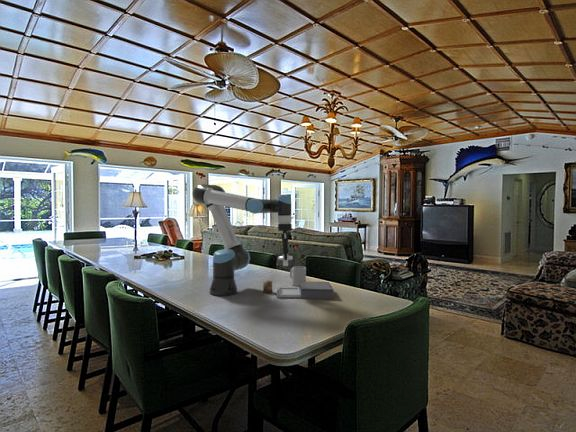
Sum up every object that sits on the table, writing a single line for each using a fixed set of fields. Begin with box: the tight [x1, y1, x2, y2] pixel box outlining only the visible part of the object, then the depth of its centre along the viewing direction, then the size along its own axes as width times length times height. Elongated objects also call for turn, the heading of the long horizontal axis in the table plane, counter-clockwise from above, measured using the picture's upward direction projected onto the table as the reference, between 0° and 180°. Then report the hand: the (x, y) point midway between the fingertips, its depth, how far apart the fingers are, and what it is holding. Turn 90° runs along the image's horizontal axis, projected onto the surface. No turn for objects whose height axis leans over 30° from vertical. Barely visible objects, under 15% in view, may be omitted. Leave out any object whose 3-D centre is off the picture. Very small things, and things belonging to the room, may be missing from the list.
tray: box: [276, 282, 301, 299], centre depth 189 cm, size 17×16×4 cm
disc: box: [277, 255, 294, 261], centre depth 189 cm, size 8×8×2 cm
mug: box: [289, 265, 307, 287], centre depth 212 cm, size 12×8×11 cm
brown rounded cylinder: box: [262, 279, 273, 294], centre depth 193 cm, size 5×5×6 cm
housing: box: [299, 281, 334, 300], centre depth 189 cm, size 17×18×5 cm
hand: (285, 264), depth 189 cm, fingers closed on disc, 8 cm apart
